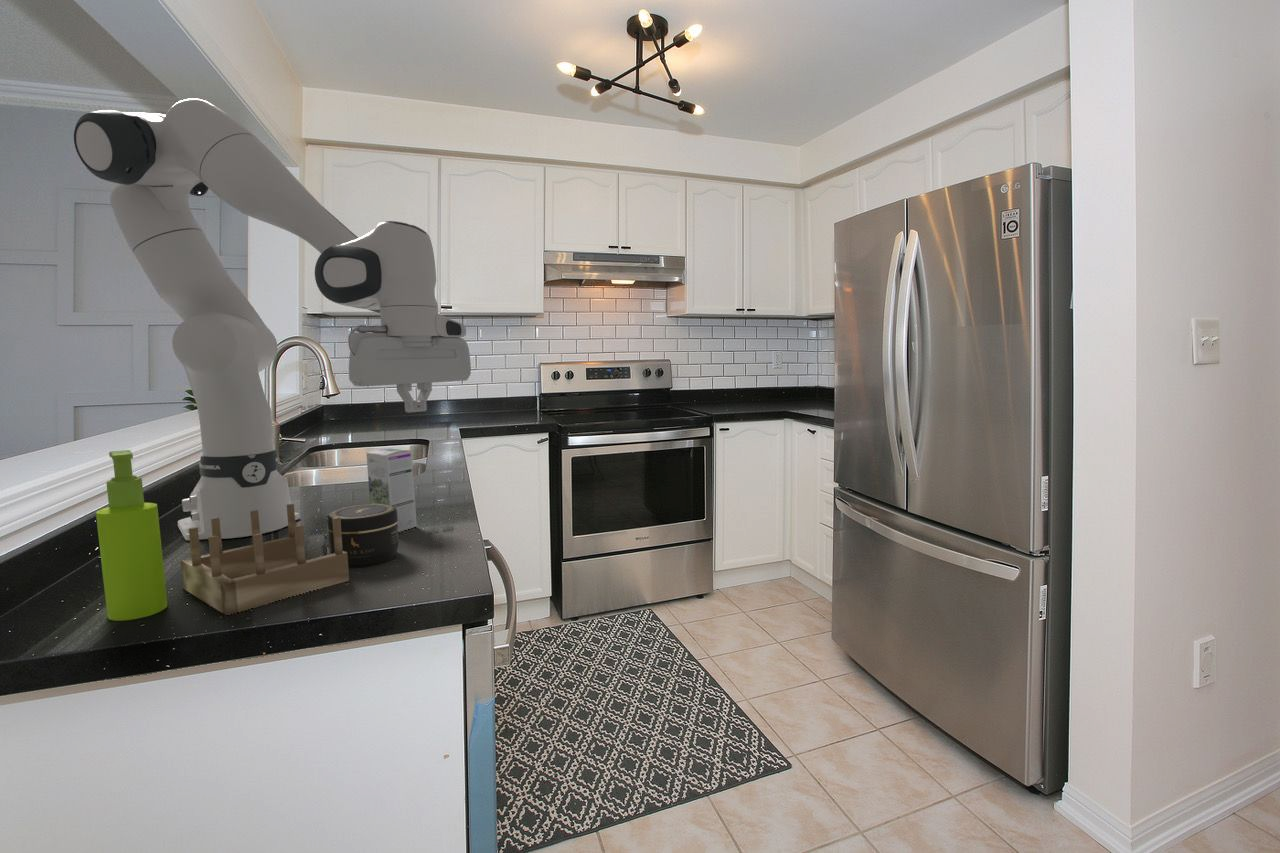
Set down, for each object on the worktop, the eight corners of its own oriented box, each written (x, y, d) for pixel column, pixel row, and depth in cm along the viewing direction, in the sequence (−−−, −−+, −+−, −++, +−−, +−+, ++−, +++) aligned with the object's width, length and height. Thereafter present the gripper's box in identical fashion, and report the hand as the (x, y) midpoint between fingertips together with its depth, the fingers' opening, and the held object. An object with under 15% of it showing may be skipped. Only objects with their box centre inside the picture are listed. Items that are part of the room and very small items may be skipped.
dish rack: (183, 588, 87) (177, 524, 86) (299, 560, 99) (294, 502, 98) (227, 615, 78) (220, 543, 77) (349, 580, 90) (344, 517, 89)
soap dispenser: (162, 596, 84) (147, 446, 82) (170, 611, 79) (154, 451, 77) (105, 609, 80) (87, 451, 78) (109, 625, 75) (91, 457, 73)
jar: (321, 571, 94) (317, 520, 93) (339, 551, 103) (336, 505, 102) (393, 566, 96) (390, 516, 95) (404, 547, 105) (402, 501, 104)
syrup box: (418, 527, 117) (413, 448, 116) (390, 535, 112) (386, 453, 111) (397, 523, 120) (393, 446, 119) (370, 531, 115) (364, 451, 114)
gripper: (358, 323, 93) (365, 418, 95) (474, 326, 109) (478, 407, 111) (337, 325, 97) (344, 416, 99) (451, 328, 113) (456, 406, 115)
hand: (416, 411), depth 105 cm, fingers closed
